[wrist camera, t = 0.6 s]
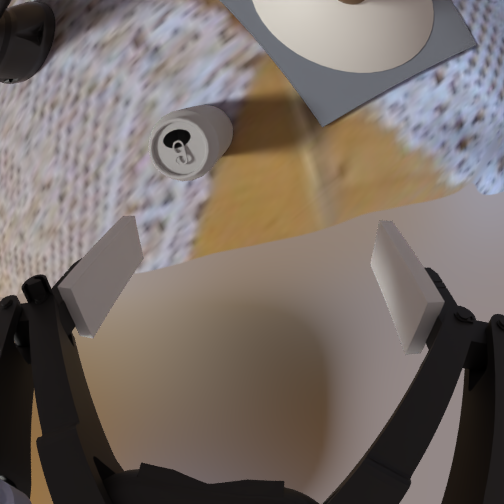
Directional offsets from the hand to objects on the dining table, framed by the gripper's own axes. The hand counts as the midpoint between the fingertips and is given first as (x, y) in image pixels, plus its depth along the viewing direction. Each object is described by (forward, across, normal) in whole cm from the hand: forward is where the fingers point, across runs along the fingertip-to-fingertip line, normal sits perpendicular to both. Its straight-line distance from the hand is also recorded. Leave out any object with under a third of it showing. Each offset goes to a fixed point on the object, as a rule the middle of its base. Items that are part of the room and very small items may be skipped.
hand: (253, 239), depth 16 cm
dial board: (+26, +10, +22) cm, 36 cm away
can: (+26, -8, +2) cm, 27 cm away
